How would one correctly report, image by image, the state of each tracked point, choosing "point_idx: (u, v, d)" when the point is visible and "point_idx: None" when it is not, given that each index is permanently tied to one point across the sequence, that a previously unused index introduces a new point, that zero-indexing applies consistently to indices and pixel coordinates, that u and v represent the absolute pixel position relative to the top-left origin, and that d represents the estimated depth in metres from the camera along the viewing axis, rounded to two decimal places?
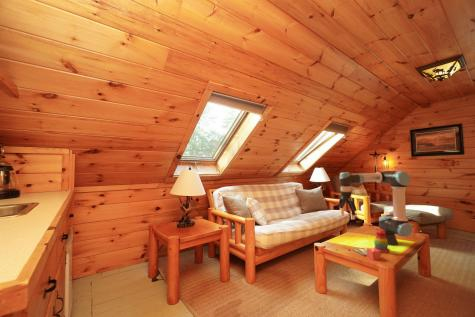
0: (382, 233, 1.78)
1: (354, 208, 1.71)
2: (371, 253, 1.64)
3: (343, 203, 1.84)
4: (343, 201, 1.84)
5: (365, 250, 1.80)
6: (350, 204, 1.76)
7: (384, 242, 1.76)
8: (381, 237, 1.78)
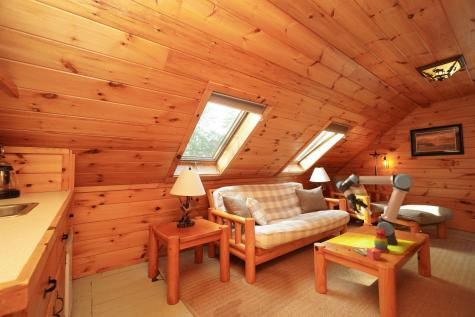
0: (382, 233, 1.78)
1: (352, 207, 1.92)
2: (371, 253, 1.64)
3: (360, 204, 2.00)
4: (358, 203, 2.01)
5: (365, 250, 1.80)
6: None
7: (384, 242, 1.76)
8: (381, 237, 1.78)
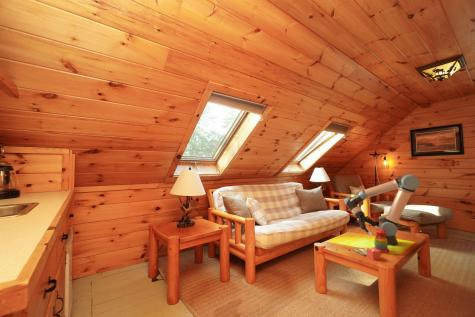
0: (382, 233, 1.78)
1: (361, 226, 1.84)
2: (371, 253, 1.64)
3: (369, 222, 1.92)
4: None
5: (365, 250, 1.80)
6: None
7: (384, 242, 1.76)
8: (381, 237, 1.78)
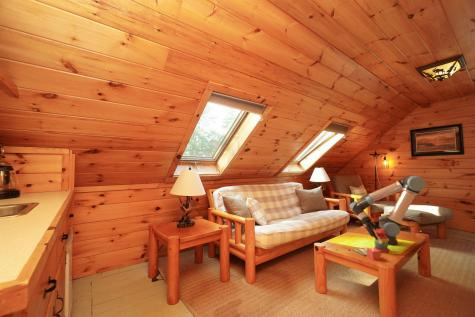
0: (382, 233, 1.78)
1: (370, 233, 1.80)
2: (371, 253, 1.64)
3: (375, 229, 1.87)
4: (373, 227, 1.88)
5: (365, 250, 1.80)
6: None
7: (384, 242, 1.76)
8: (381, 237, 1.78)
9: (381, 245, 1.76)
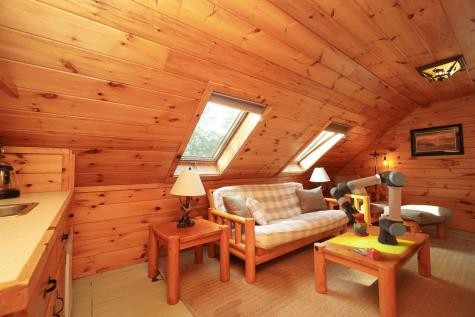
0: (361, 217, 1.75)
1: (349, 218, 1.77)
2: (371, 253, 1.64)
3: None
4: None
5: (365, 250, 1.80)
6: None
7: (363, 226, 1.73)
8: (360, 221, 1.75)
9: (360, 229, 1.74)
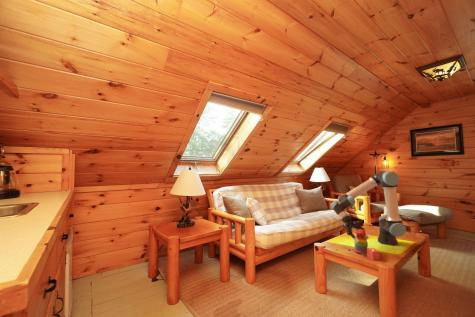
0: (362, 234, 1.75)
1: (347, 232, 1.77)
2: (371, 253, 1.64)
3: (356, 227, 1.85)
4: None
5: None
6: (349, 228, 1.81)
7: (364, 243, 1.73)
8: (361, 238, 1.75)
9: (360, 246, 1.73)
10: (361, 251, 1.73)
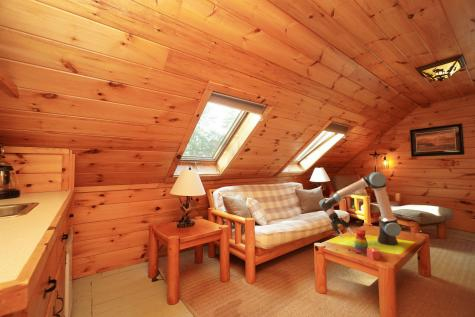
0: (362, 234, 1.75)
1: (333, 228, 1.88)
2: (371, 253, 1.64)
3: (342, 224, 1.96)
4: (340, 222, 1.97)
5: None
6: (335, 224, 1.92)
7: (364, 243, 1.73)
8: (361, 238, 1.75)
9: (360, 246, 1.73)
10: (361, 251, 1.73)
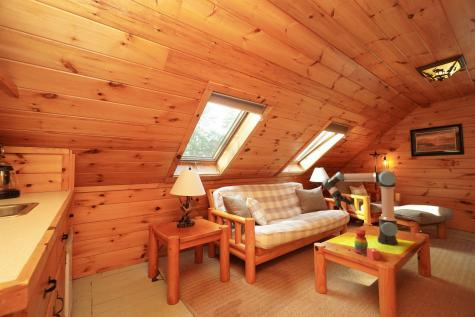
0: (362, 234, 1.75)
1: (336, 204, 1.94)
2: (371, 253, 1.64)
3: (345, 201, 2.02)
4: None
5: None
6: (338, 201, 1.97)
7: (364, 243, 1.73)
8: (361, 238, 1.75)
9: (360, 246, 1.73)
10: (361, 251, 1.73)
